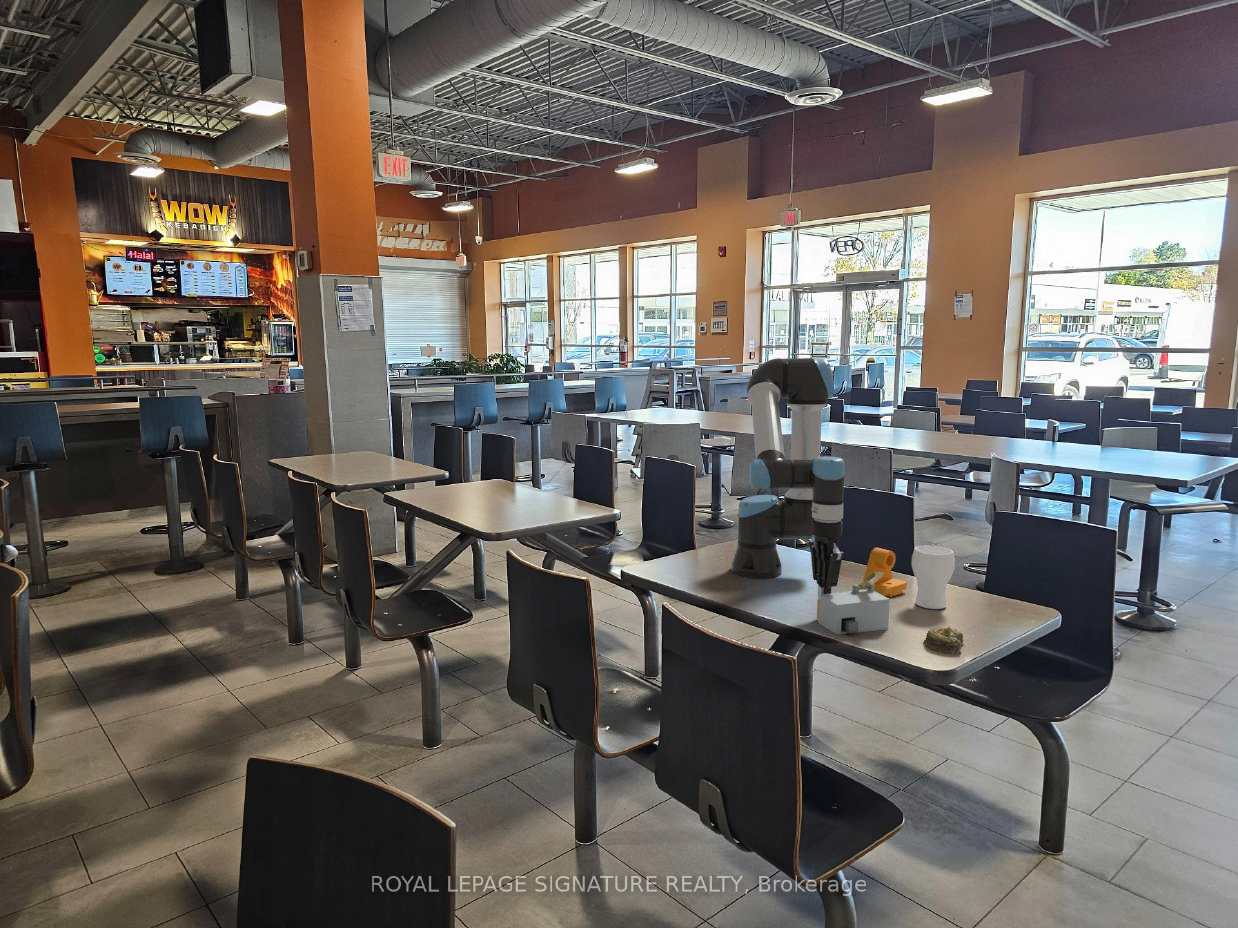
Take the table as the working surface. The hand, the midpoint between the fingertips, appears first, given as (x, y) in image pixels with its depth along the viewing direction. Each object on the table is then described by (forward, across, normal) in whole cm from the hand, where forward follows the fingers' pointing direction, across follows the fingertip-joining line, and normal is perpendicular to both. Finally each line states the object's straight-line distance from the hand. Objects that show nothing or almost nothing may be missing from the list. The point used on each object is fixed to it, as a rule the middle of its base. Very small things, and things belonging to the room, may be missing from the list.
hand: (823, 610), depth 198 cm
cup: (+3, -2, +34) cm, 34 cm away
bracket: (+3, -15, +29) cm, 33 cm away
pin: (+3, +1, 0) cm, 3 cm away
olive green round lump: (+3, +24, +18) cm, 30 cm away
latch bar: (-7, +4, +9) cm, 12 cm away
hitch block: (+3, +7, +4) cm, 8 cm away
